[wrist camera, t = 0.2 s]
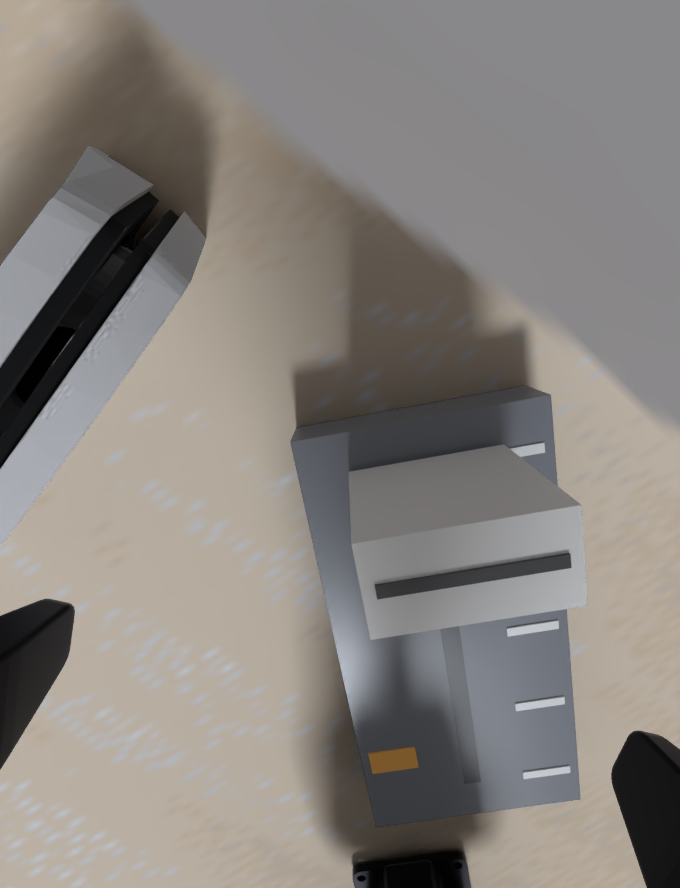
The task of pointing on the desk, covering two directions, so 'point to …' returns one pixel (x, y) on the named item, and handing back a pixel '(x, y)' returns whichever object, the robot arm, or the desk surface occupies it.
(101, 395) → the grey curved piece
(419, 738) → the fader board
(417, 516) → the fader knob
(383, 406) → the desk surface
